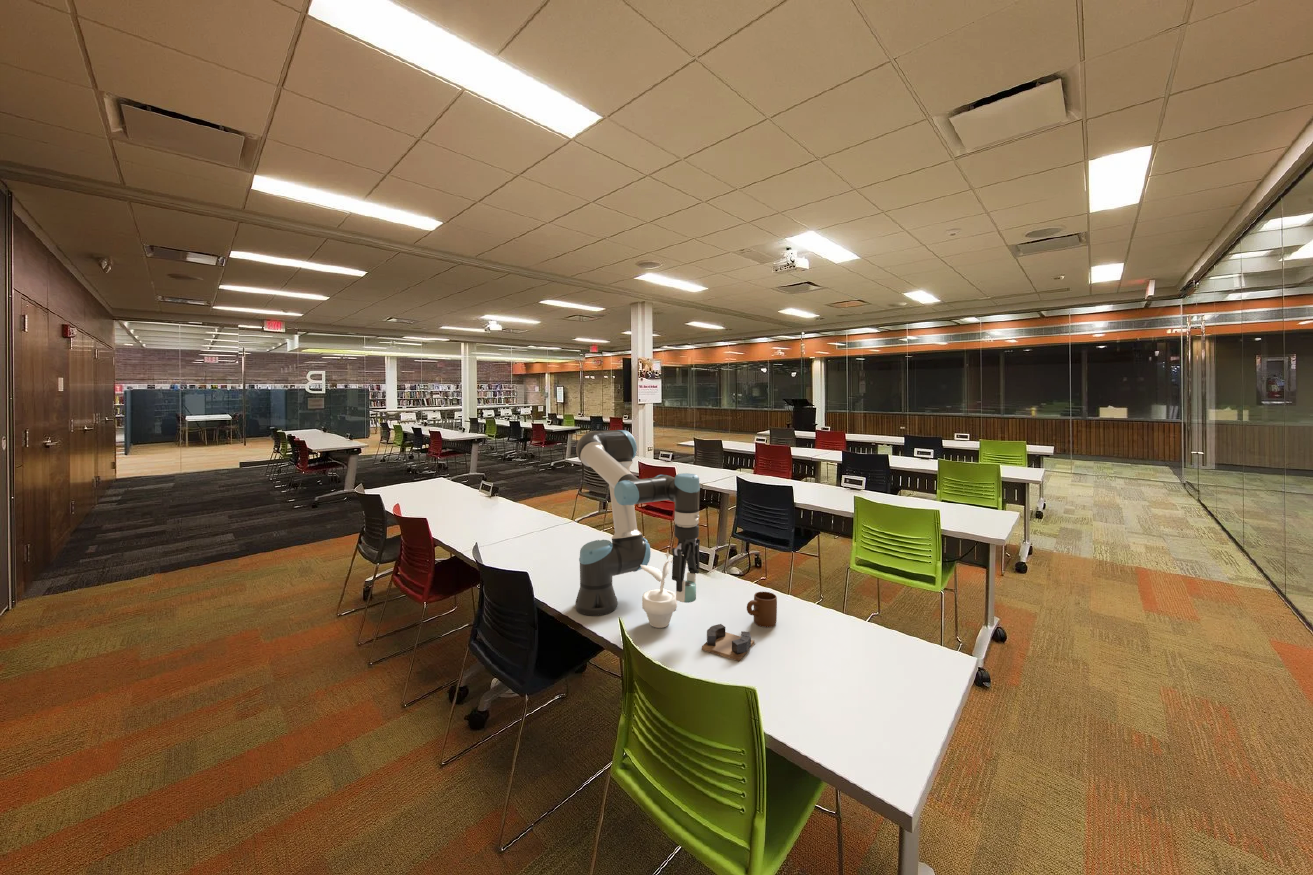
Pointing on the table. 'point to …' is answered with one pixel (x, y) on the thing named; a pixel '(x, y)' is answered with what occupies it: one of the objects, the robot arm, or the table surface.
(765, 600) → the mug
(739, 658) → the board
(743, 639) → the pair of curved blocks
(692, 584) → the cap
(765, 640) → the table surface
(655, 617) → the potted plant
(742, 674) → the table surface
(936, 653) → the table surface
